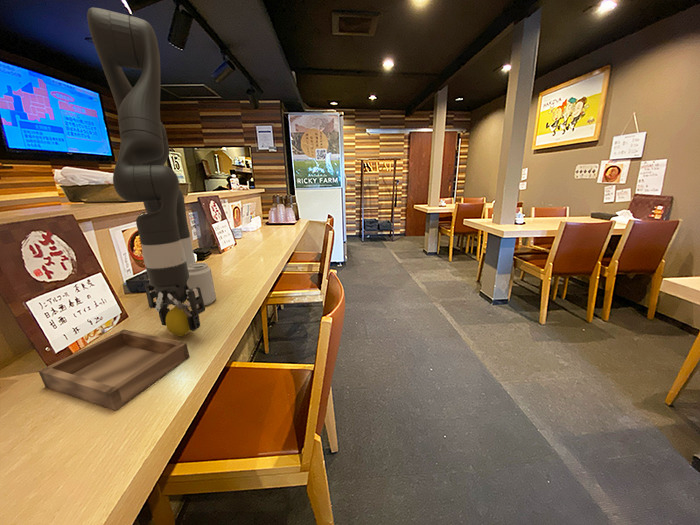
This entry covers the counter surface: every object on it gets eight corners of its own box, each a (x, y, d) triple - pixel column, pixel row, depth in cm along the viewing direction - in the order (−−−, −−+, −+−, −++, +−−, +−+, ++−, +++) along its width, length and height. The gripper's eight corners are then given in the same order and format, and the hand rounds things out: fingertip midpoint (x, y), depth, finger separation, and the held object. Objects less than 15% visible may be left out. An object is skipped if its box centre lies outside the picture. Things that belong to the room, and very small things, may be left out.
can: (205, 309, 78) (197, 270, 74) (182, 307, 79) (174, 268, 76) (221, 298, 85) (215, 262, 81) (201, 296, 86) (194, 260, 83)
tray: (45, 386, 49) (38, 371, 48) (127, 342, 62) (123, 329, 61) (115, 410, 44) (109, 393, 43) (189, 356, 57) (186, 342, 56)
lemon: (179, 329, 68) (172, 300, 65) (200, 330, 67) (194, 300, 65) (164, 342, 62) (156, 311, 60) (187, 343, 62) (180, 311, 60)
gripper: (205, 259, 60) (217, 323, 65) (158, 254, 65) (172, 315, 69) (175, 269, 54) (191, 340, 59) (124, 264, 58) (143, 330, 63)
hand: (181, 326), depth 64 cm, fingers open, 8 cm apart
